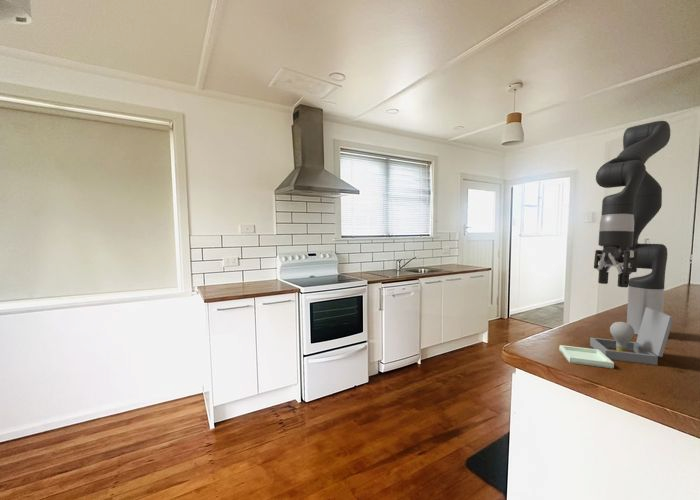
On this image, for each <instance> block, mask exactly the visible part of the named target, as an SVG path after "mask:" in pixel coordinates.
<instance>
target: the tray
mask: <svg viewBox="0 0 700 500" xmlns="http://www.w3.org/2000/svg"><path fill="white" fill-rule="evenodd" d="M558 350H559V352H560V353H561V354H562V356H564V358H565V359H566V360H567V362H569V364H576V365H584V366H591V367H599V368H607V369H615V362H614V361H613V360H612V359H609V358H608V357H607V356H606V355H604V354H603V353H602V352H601V351H600V350H598V349H594V348H588V347H581V346H580V347H579V346H569V345H561V344H559V348H558Z"/></svg>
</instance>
